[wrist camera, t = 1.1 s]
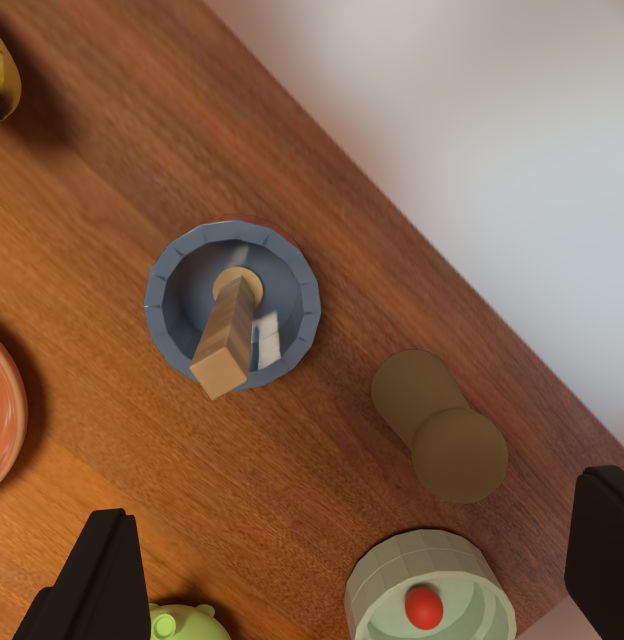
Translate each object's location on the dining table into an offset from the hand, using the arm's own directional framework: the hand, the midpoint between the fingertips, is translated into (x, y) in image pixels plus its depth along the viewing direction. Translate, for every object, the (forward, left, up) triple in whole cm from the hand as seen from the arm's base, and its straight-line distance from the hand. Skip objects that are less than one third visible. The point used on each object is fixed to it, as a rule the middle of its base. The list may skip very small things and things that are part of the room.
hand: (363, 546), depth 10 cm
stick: (+3, -2, -24) cm, 24 cm away
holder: (+3, -2, -24) cm, 25 cm away
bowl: (+4, +27, -24) cm, 36 cm away
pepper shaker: (-4, +11, -25) cm, 27 cm away
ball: (+4, +27, -22) cm, 35 cm away
